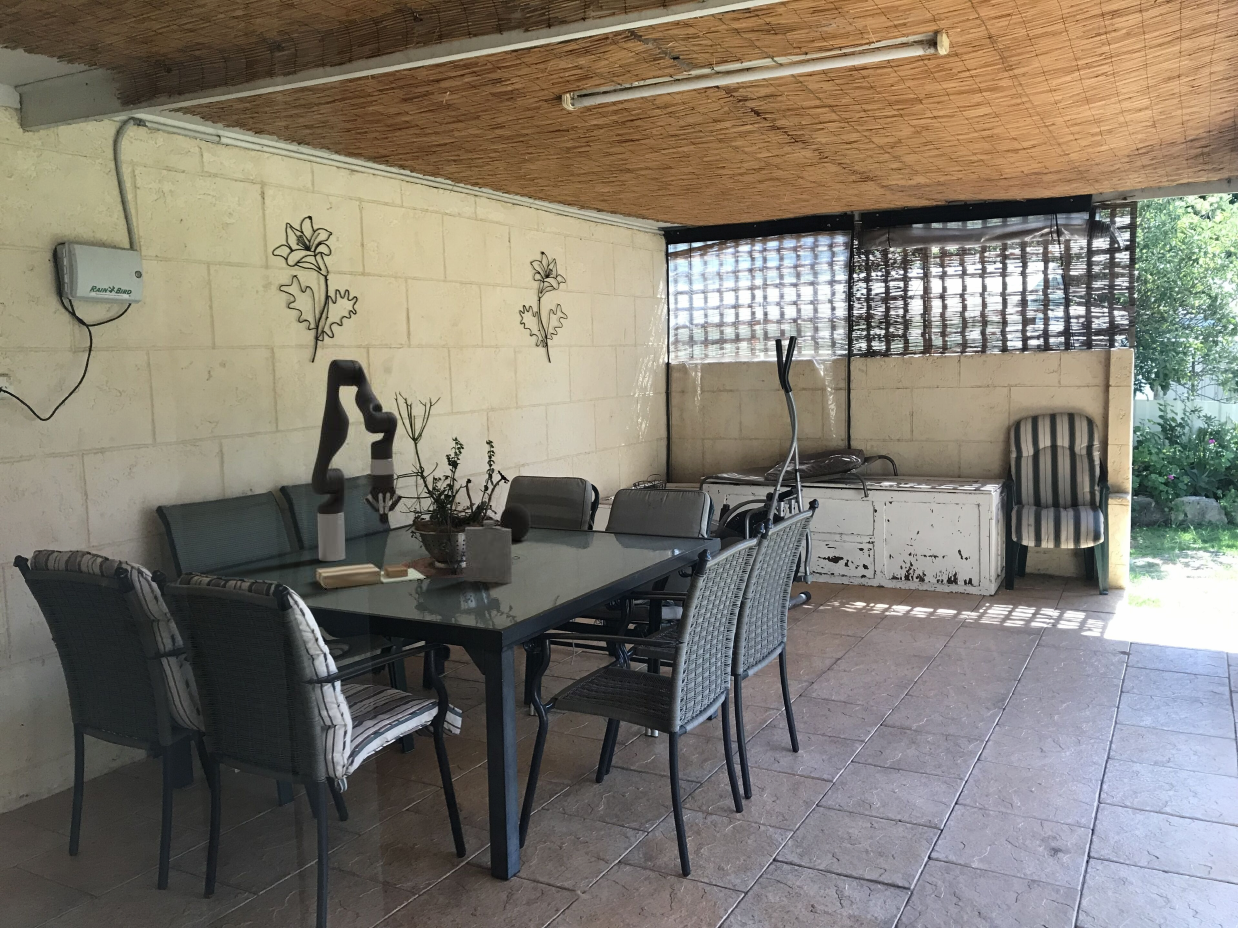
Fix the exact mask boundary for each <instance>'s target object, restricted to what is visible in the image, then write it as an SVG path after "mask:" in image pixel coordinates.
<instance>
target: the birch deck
mask: <svg viewBox="0 0 1238 928" xmlns="http://www.w3.org/2000/svg"><path fill="white" fill-rule="evenodd" d="M315 572H316V573H315V574H316V581H317V580H318V581H319V582H320V583H321V585H322V586H323V587H324V588H327V589H335V588H336V587H337V588H345V587H354V586H361V585H362V586H363V585H364V584H365V585H373V584H381V583H382V582H381V572H382V571H381V570H380V569H379V568H378V567H377V566H375V565H374V564H372V563H364V564H353V565H343V566H342V565H340V566H334V567H333V566H332V567H324V568H323V567H321V568H316V571H315ZM321 585H320V586H321ZM322 586H321V587H322ZM323 587H322V588H323ZM324 588H323V589H324Z"/></svg>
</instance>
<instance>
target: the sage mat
mask: <svg viewBox="0 0 1238 928" xmlns="http://www.w3.org/2000/svg"><path fill="white" fill-rule="evenodd" d="M407 569H408V576H407V577H397V578H389V577H388V576H386V575H385V574H384V570H382V571H381V583H383V584H392V583H400V582H402V581H403V582H408V581H409V580H412V581H417V579H421V580H425V579H424V578H426V577H427V576H425V575H423V574H422V573H420V572H419V571H417V570H416V569H414V568H411V567H410V568H407ZM426 579H427V578H426ZM409 582H410V581H409Z"/></svg>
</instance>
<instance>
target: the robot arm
mask: <svg viewBox="0 0 1238 928" xmlns="http://www.w3.org/2000/svg"><path fill="white" fill-rule="evenodd" d="M340 387H356V388H357V390H356V393H355V395H354V401H355V402H354V403H355V405H356V407H357V408H358V410H359V411H360V413H361V414H362V418H363V424H364V429H365V430H366V431H367V432H368V433H370V434H374V435H375V434H383V435H382V437H381V438H380V439H377V440H374V441H372V442H371V443H370V463H369V464H370V465H369V466H370V467H369V469H370V491H369V494H368V495H367V496H364V497H363V499H362V500H363V501H364V502H365V503H366V505H367V506H368V507H369V508H370V509H371V510H372V512H374V513H377V514H378V523H379V524H380V525H383V526H384V525H387V524H388V523H389V513H390V512H393V511H394V510H395V509H396V508H397V506H398V505H399V503H400V502H401V500H402V499H403V496H402V495H401V494H399V493H397V490H396V489H395V465H394V464H395V463H394V459H393V458H394V457H393V455H394V453H393V452H394V451H393V450H394V449H393V447H394V441H395V436H396V434H397V429H398V423H399V422H398V418H397V416H396V414H395V413H394V412H393V411H383V410H384V409H383V406H382V405H383V404H382V403H381V402H380V400H379V399H378V398H377V396H376V394H375V393H374V391H373V390H372V387H371V385H370V382H369V379H368V377H367V375H366V372H365V369H364V367H363V365H362V363H360V362H359V361H358V360H356V359H355V360H354V359H338V358H337V359H332V360H331V361H330V363H329V366H328V370H327V379H326V396H325V403H324V409H323V410H324V412H323V416H322V421H321V428H320V436H319V443H318V448H317V454H316V458H315V463H314V466H313V470H312V475H311V480H310V481H311V490H312V492H313V493H314V494H315V495H320V496H323V495H329V497H328V498H327V499H326V500H325V501H323V502H322V503H319V504H318V505H317V510H316V511H317V533H318V534H317V535H318V536H317V537H318V538H317V539H318V560H319V561H322V562H334V561H335V562H336V561H343V560H345V559H346V542H345V541H346V540H345V539H346V538H345V536H346V535H345V534H346V533H345V514H344V513H345V503H346V480H345V479H346V477H345V474H344V472H343V470H342V469H341V468H338V467H336V468H335V467H333V468H331V467H330V464H331V463H332V460H333V458H334V457H335V456H336V455H337V453H338V452H339V451H340V450H341V448H342V447H343V446H344V445H345V443H346V440H347V438H348V433H349V427H350V419H349V416H348V414H347V412H346V410H345V408H344V406H343V404H342V401H341V398H340ZM329 467H330V468H329ZM392 499H393V500H392ZM373 500H374V502H375V503H376V506H377V507H376V506H375V504H374V503H373V502H372V501H373ZM391 501H392V502H391ZM390 502H391V504H390Z"/></svg>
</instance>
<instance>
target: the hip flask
mask: <svg viewBox="0 0 1238 928" xmlns="http://www.w3.org/2000/svg"><path fill="white" fill-rule="evenodd" d="M482 524H483V527H482V526H481V527H480V526H479V527H477V526H476V527H475V526H468V527H465V528H464V538H465V539H464V545H465V546H464V548H465V549H464V550H465V554H464V555H465V581H466V582H474V581H481V582H483V583H495V582H497V584H498V583H499V584H505V583H508V584H511V583H512V582H513V571H512V570H513V566H512V565H513V564H512V563H513V562H512V561H513V559H512V554H513V553H512V540H511V529H505V528H501V527H500V526H495V525H494V524H495V521H494V520H483V521H482ZM481 582H480V583H481Z"/></svg>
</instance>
